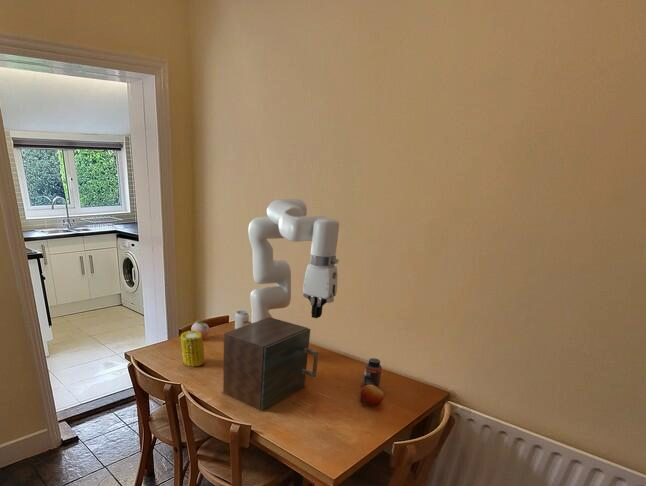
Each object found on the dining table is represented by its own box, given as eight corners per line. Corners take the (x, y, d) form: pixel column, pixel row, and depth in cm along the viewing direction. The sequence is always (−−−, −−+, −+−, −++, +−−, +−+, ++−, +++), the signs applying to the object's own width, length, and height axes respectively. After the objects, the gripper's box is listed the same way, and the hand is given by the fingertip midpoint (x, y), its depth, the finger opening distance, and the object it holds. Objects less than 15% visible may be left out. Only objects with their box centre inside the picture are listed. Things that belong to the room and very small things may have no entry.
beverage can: (244, 337, 208) (244, 315, 203) (232, 335, 211) (232, 313, 206) (250, 333, 213) (251, 311, 208) (238, 331, 217) (239, 309, 212)
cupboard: (302, 385, 160) (308, 327, 150) (260, 410, 144) (263, 346, 134) (266, 371, 172) (269, 317, 162) (223, 392, 156) (223, 333, 145)
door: (317, 391, 156) (324, 332, 146) (275, 416, 140) (280, 352, 129) (302, 385, 160) (308, 328, 150) (260, 409, 144) (264, 347, 134)
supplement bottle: (378, 384, 161) (383, 358, 156) (378, 391, 156) (383, 364, 151) (362, 382, 163) (366, 356, 158) (362, 389, 158) (366, 362, 153)
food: (208, 365, 181) (190, 373, 176) (191, 352, 188) (174, 359, 182) (212, 337, 172) (193, 344, 166) (194, 324, 179) (176, 330, 173)
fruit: (350, 394, 150) (364, 377, 148) (366, 403, 153) (380, 387, 150) (359, 406, 143) (374, 388, 140) (376, 415, 145) (391, 397, 143)
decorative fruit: (187, 339, 207) (187, 320, 202) (199, 335, 212) (198, 316, 208) (201, 344, 201) (200, 324, 197) (212, 339, 206) (212, 320, 202)
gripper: (350, 262, 126) (342, 319, 133) (308, 256, 135) (303, 310, 143) (337, 265, 121) (330, 324, 129) (295, 259, 131) (290, 314, 138)
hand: (316, 316), depth 136 cm, fingers closed
